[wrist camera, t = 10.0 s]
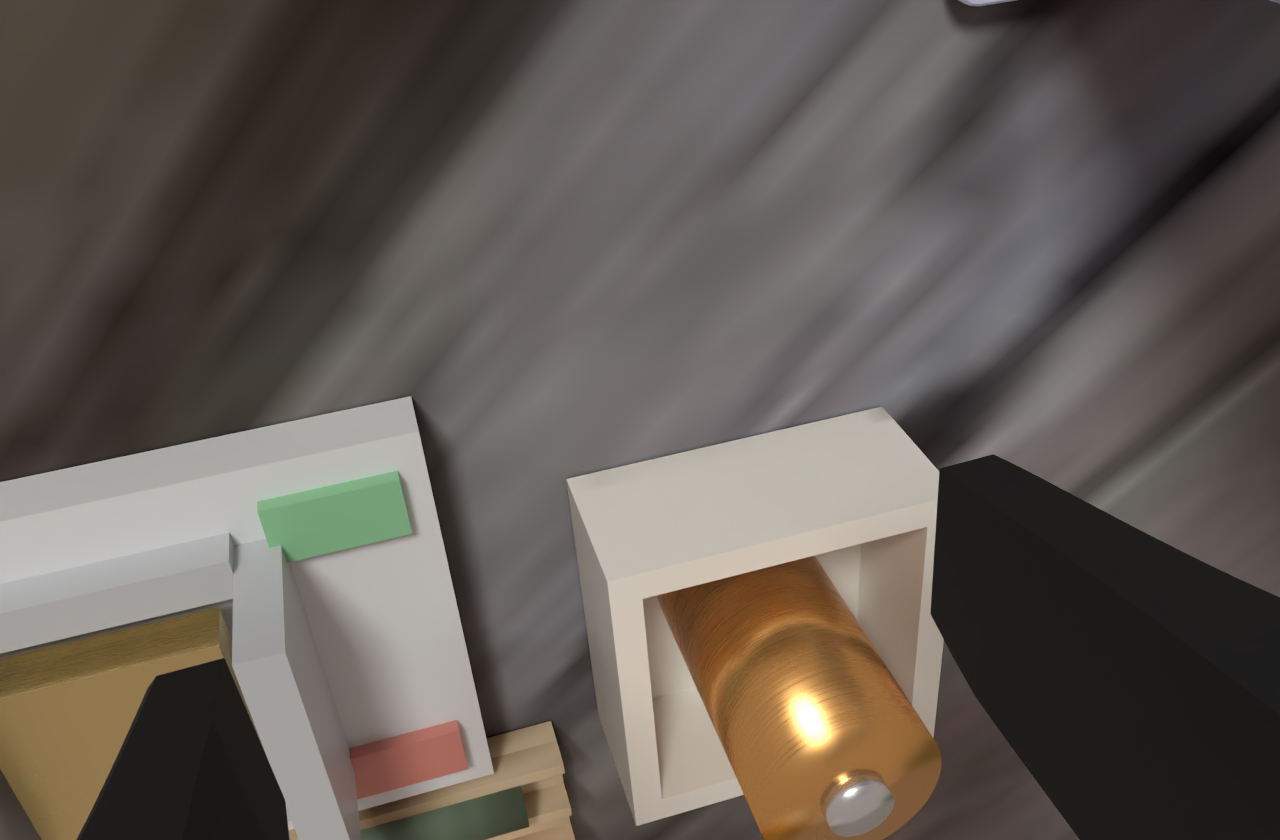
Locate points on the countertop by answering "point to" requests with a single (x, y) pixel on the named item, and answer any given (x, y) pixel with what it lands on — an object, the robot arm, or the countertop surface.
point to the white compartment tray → (270, 597)
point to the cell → (803, 705)
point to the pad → (89, 710)
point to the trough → (486, 799)
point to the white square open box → (739, 543)
